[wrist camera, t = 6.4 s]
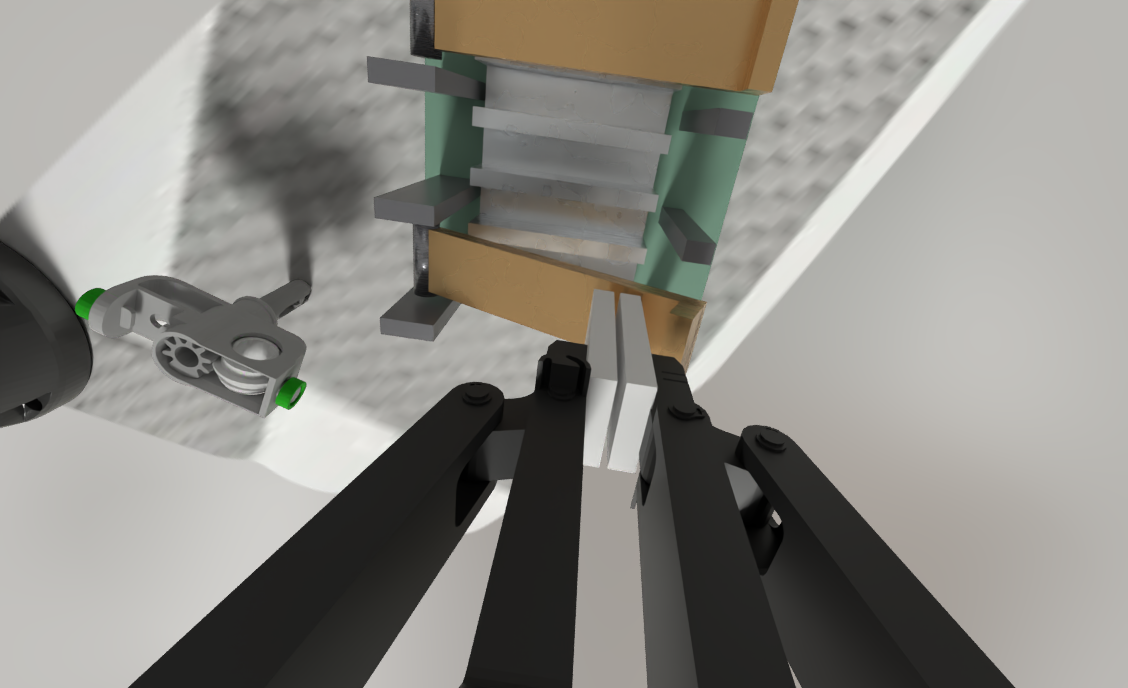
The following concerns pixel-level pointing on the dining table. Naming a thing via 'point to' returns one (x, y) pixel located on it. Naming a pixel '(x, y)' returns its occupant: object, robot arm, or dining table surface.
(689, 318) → the strap
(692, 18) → the strap
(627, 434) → the robot arm
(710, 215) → the socket board
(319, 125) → the dining table surface
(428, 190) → the set of grey pegs
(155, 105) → the dining table surface
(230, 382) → the mechanical component
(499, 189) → the heatsink
